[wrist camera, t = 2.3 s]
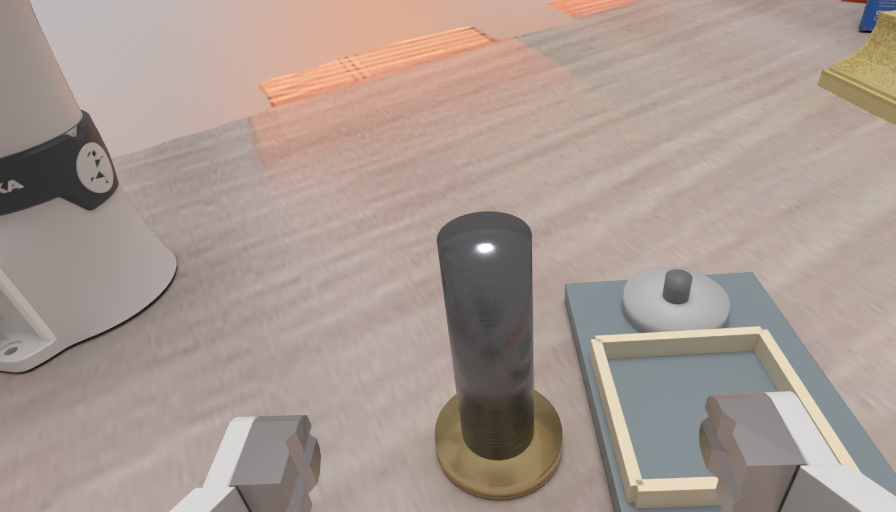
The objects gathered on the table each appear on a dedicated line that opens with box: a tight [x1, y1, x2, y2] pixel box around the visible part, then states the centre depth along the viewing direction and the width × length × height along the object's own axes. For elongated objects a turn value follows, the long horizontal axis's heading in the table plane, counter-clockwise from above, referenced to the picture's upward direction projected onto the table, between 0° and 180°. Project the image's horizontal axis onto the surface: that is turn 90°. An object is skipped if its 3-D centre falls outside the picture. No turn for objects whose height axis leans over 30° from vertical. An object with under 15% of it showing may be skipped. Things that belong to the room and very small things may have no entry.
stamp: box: [435, 212, 562, 500], centre depth 28 cm, size 7×7×14 cm
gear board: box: [565, 267, 896, 512], centre depth 32 cm, size 13×18×4 cm
